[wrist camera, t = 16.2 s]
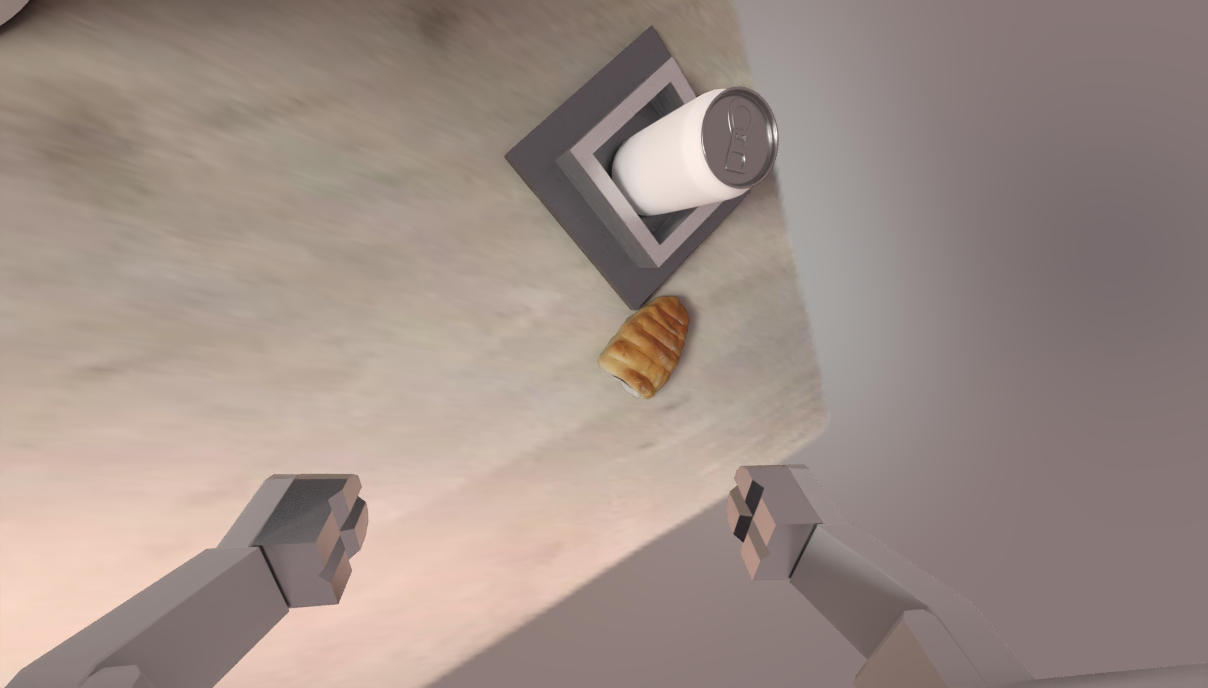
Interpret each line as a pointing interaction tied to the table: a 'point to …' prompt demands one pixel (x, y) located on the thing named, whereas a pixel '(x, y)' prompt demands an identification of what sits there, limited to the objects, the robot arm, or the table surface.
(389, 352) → the table surface
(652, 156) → the can
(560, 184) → the collar
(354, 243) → the table surface
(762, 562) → the robot arm
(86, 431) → the table surface
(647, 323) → the pastry
